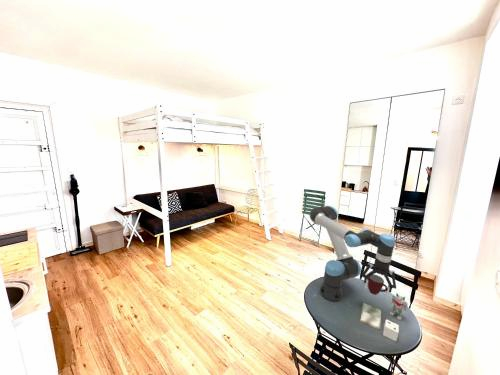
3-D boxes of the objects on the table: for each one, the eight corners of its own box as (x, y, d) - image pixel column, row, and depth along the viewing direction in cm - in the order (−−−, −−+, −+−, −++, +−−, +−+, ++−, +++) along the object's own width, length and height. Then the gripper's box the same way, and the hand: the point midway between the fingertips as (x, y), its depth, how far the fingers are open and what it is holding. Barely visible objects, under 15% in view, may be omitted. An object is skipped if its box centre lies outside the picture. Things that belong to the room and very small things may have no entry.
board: (360, 320, 120) (360, 319, 120) (363, 304, 133) (363, 302, 133) (379, 330, 115) (380, 328, 114) (380, 311, 128) (381, 310, 127)
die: (383, 335, 112) (385, 326, 110) (383, 327, 116) (385, 318, 115) (396, 341, 108) (398, 332, 107) (396, 333, 113) (398, 324, 111)
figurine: (385, 309, 129) (390, 289, 126) (397, 310, 129) (403, 290, 126) (394, 320, 122) (399, 299, 118) (407, 320, 122) (412, 300, 118)
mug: (383, 290, 126) (386, 276, 124) (387, 299, 119) (390, 285, 116) (364, 286, 129) (367, 272, 127) (367, 295, 122) (370, 280, 119)
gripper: (360, 255, 122) (354, 286, 127) (407, 270, 109) (398, 304, 114) (361, 250, 128) (355, 280, 133) (406, 264, 116) (398, 296, 120)
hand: (375, 291), depth 124 cm, fingers closed on mug, 10 cm apart
